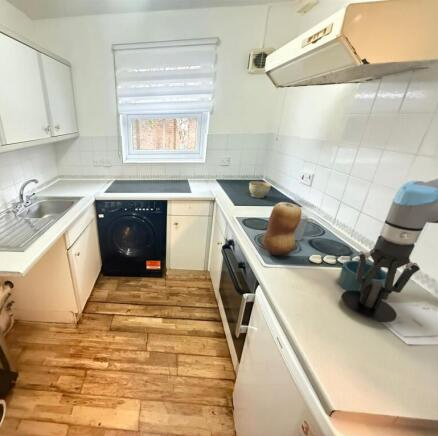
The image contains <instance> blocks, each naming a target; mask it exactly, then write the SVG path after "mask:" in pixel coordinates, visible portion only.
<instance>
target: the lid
mask: <svg viewBox="0 0 438 436" xmlns="http://www.w3.org/2000/svg"><path fill="white" fill-rule="evenodd" d="M382 287H383V284H382V283H380V282H378V281H371V283H370V290H369V292H368V294H367V297H366V299H365V301H364V304H361V303H360V299H359V298H360V296H361V293H360V292H359V291H344V292H342V293H341V295H340V299H341V302H342V303H343V304H344V306H345V307H346V308H348V309H349V310H350V311H352V312H353V313H355V314H357V315H359V316H361V317H362V318H365V319H368V320H370V321H373V322H374V321H375V322H377V323H378V322H380V323H392V322H394V321H396V319H397V318H398V316H397V315H398V314H397V312H396V310H395V309H394V307H392V306H391V305H390V304H389V303H388V302H387V301H385V300H383V299H382V301H381V303H380V305H379V307H378V308H375V307H374V305H375V302H376V300H377V298H378V296H379V294H380V292H381V289H382Z"/></svg>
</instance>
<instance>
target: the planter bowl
mask: <svg viewBox="0 0 438 436" xmlns="http://www.w3.org/2000/svg"><path fill="white" fill-rule="evenodd" d="M271 187H272V184H271V183H269V182H266V181H250V182H249V184H248V188H249V193H250V194H251V197H253V198H257V199H263V198H265V196H266V195H267V194H268V193H269V192H270V190H271Z"/></svg>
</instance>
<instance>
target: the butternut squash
mask: <svg viewBox="0 0 438 436" xmlns="http://www.w3.org/2000/svg"><path fill="white" fill-rule="evenodd" d="M301 213H302V214H303V211H302V208H301V207H300V206H299V205H298V204H294V203H291V202H286V201H285V202H284V201H281V202H277V204H275V205H273V208H272V209H271V213H270V215H269V217H268V218H269V219H268V226H267V228H266V231H265V232H264V234H263V236H262V243H263V246H264V248H265V250H267V252H268V253H269V254H270V255H272V256H285V255H288V254H290V253H291V252H292V251H294V249H295V246H296V240H295V236H294V232H295V230H296V228H297V226H298V224H299V222H300V219H301Z"/></svg>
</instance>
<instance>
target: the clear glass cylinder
mask: <svg viewBox="0 0 438 436" xmlns="http://www.w3.org/2000/svg"><path fill="white" fill-rule="evenodd" d="M309 218H310V217H309V215H307V214H306V213H303V212H302V213H301V219H300V222H299V224H298V226H297V228H296V230H295V232H294V236H295V241H300V240H303V237H304V234H305V230H306V227H307V223H308V221H309Z"/></svg>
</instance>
